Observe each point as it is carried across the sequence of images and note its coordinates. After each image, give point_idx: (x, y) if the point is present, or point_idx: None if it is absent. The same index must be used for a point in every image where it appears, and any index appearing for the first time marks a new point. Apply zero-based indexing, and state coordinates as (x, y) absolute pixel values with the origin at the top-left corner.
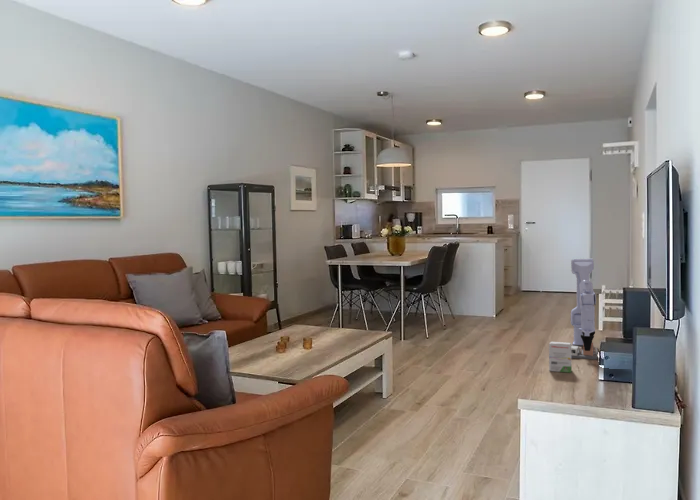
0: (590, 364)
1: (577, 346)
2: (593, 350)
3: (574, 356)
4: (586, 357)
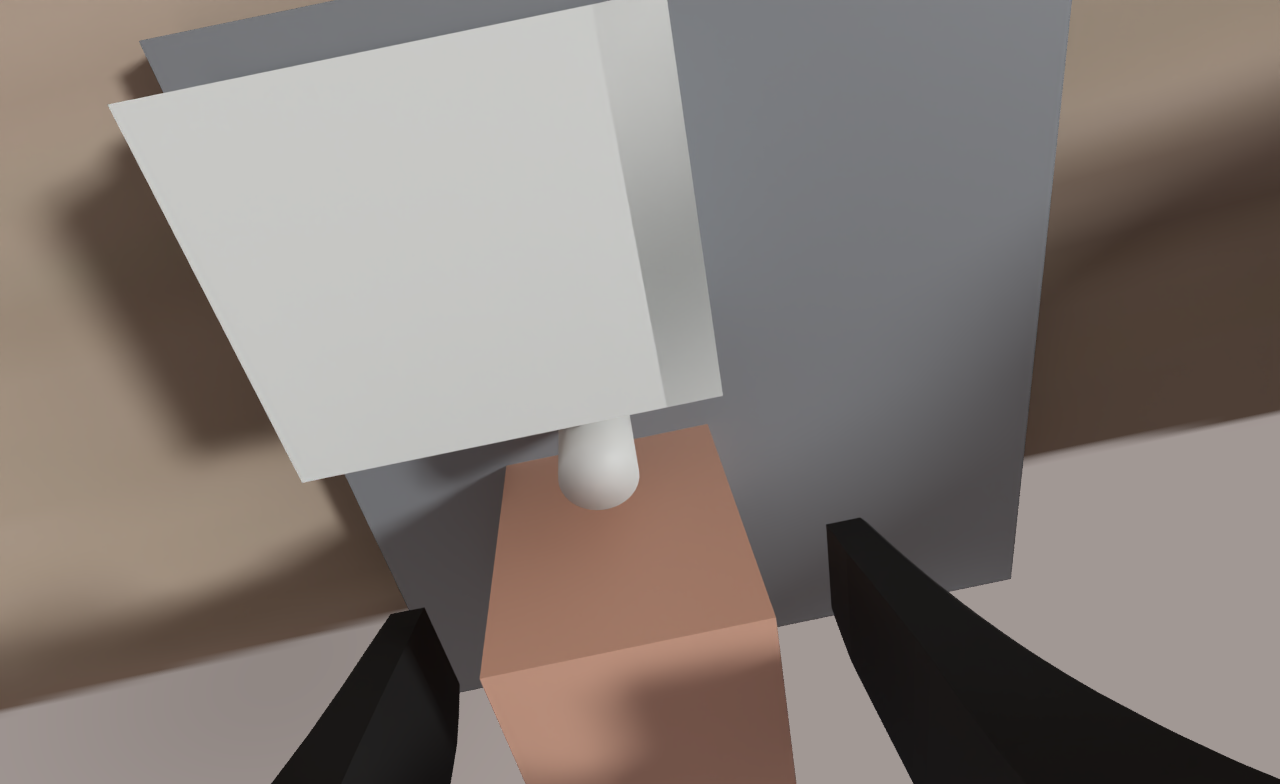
0: (2, 682)
1: (616, 403)
2: (1017, 509)
3: None
4: (386, 542)
